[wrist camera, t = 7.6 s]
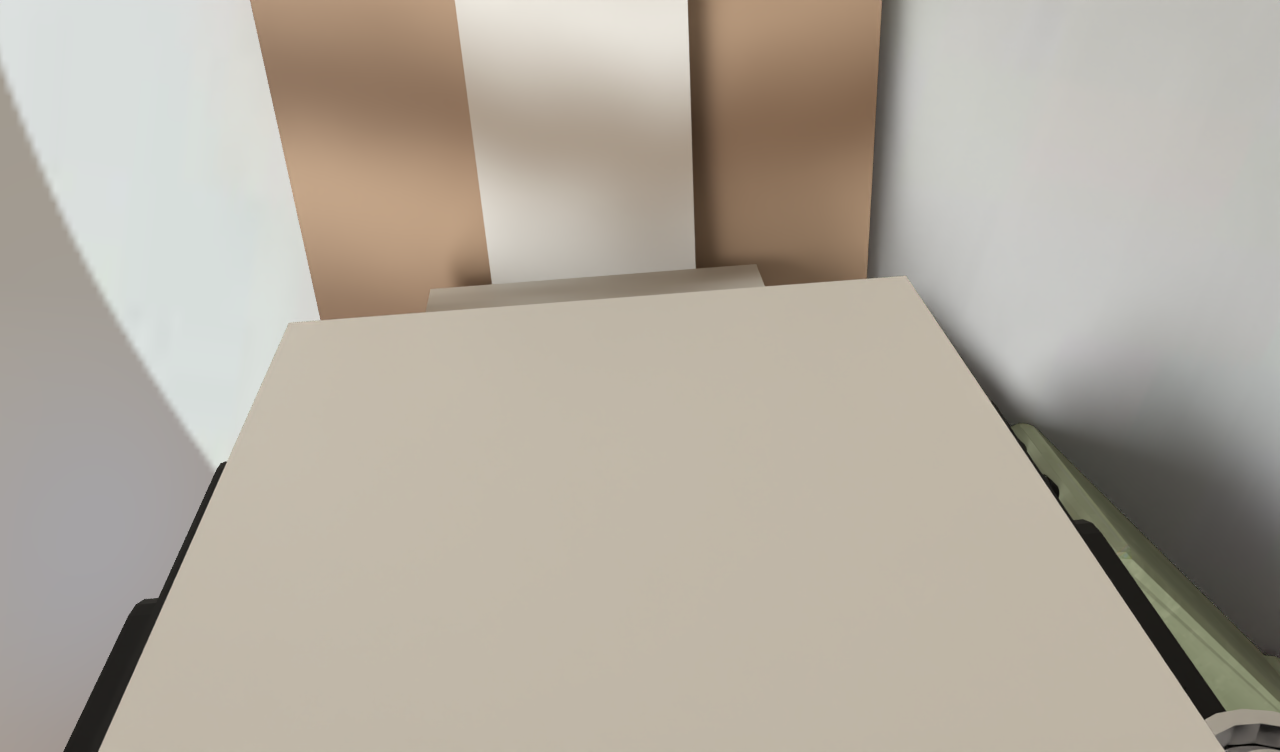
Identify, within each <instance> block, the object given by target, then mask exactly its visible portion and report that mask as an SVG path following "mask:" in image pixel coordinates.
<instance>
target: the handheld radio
mask: <svg viewBox="0 0 1280 752" xmlns="http://www.w3.org/2000/svg"><path fill="white" fill-rule="evenodd" d="M1011 429H1012V430H1013V431H1014V433H1015V434H1016V436H1017V437H1018V439H1019V440H1020V442H1021V443H1022V445H1023V446H1024V448H1025V449H1026V451H1027V452H1028V454H1029V455H1030V457H1031V458H1032V460H1033V461H1034V463H1035V464H1036V466H1037V467H1038V469H1039V470H1040V471H1041V473H1042V474H1043V476H1044V477H1045V479H1046V480H1047V482H1048V483H1049V485H1050V486H1051V488H1052V489H1053V491H1054V492H1055V494H1056V495H1057V497H1058V498H1059V500H1060V501H1061V503H1062V504H1063V506H1064V507H1065V508H1066V510H1067V511H1068V513H1069V514H1070V516H1071V517H1072V519H1073V520H1079V519H1084V520H1087V521H1089V522H1092V523H1093V524H1094V525H1095V526H1096V527H1097V528H1098V529H1099V531H1100V532H1101V533H1102V534H1103V536H1104V537H1105V538H1106V540H1107V541H1108V543H1109V544H1110V546H1111V547H1112V548H1113V550H1114V551H1115V553H1116V554H1117V556H1118V557H1119V558H1120V560H1121V561H1122V563H1123V564H1124V566H1125V567H1126V568H1127V570H1128V571H1129V573H1130V574H1131V576H1132V577H1133V578H1134V580H1135V581H1136V583H1137V584H1138V586H1139V587H1140V588H1141V590H1142V591H1143V593H1144V594H1145V596H1146V597H1147V598H1148V600H1149V601H1150V603H1151V604H1152V606H1153V607H1154V608H1155V610H1156V611H1157V613H1158V614H1159V616H1160V617H1161V618H1162V620H1163V621H1164V623H1165V624H1166V626H1167V627H1168V628H1169V630H1170V631H1171V633H1172V634H1173V636H1174V637H1175V638H1176V640H1177V641H1178V643H1179V644H1180V646H1181V647H1182V648H1183V650H1184V651H1185V653H1186V654H1187V656H1188V657H1189V658H1190V660H1191V661H1192V663H1193V664H1194V666H1195V667H1196V668H1197V670H1198V671H1199V673H1200V674H1201V676H1202V677H1203V678H1204V680H1205V681H1206V683H1207V684H1208V686H1209V687H1210V688H1211V690H1212V691H1213V693H1214V694H1215V696H1216V697H1217V698H1218V700H1219V701H1220V703H1221V704H1222V706H1223V707H1224V708H1225V710H1226V711H1233V710H1238V709H1251V710H1265V711H1274V712H1278V713H1280V658H1278V657H1276V656H1265V655H1264V654H1263V653H1262V652H1261V651H1260V650H1259V649H1258V648H1257V647H1256V646H1255V645H1254V644H1253V643H1252V642H1251V641H1250V640H1249V639H1248V638H1247V637H1246V636H1245V635H1244V634H1243V633H1242V632H1241V631H1240V630H1239V629H1238V628H1237V627H1236V626H1235V625H1234V624H1233V623H1232V622H1231V621H1230V620H1229V619H1228V618H1227V617H1226V616H1225V615H1224V614H1223V613H1222V612H1221V611H1220V610H1219V609H1218V608H1216V607H1215V606H1214V605H1213V604H1212V603H1211V602H1210V601H1209V600H1208V599H1207V598H1206V597H1205V596H1204V595H1203V594H1202V593H1201V592H1200V591H1199V590H1198V589H1197V588H1196V587H1195V586H1194V585H1193V584H1192V583H1191V582H1190V581H1189V580H1188V579H1187V578H1186V577H1185V576H1184V575H1183V574H1182V573H1181V572H1180V571H1179V570H1178V569H1177V568H1176V567H1175V566H1174V565H1173V564H1172V563H1171V562H1170V561H1169V560H1168V559H1167V558H1166V557H1165V556H1164V555H1163V554H1162V553H1161V552H1160V551H1159V550H1158V549H1157V548H1156V547H1155V546H1154V545H1153V544H1152V543H1151V542H1150V541H1149V540H1148V539H1147V538H1146V537H1145V536H1144V535H1143V534H1142V533H1141V532H1140V531H1139V530H1138V529H1137V528H1136V527H1135V526H1134V525H1133V524H1132V523H1131V522H1130V521H1129V520H1128V519H1127V518H1126V517H1125V516H1124V515H1123V514H1122V513H1121V512H1120V511H1119V510H1118V509H1117V508H1116V507H1115V506H1114V505H1113V504H1112V503H1111V502H1110V501H1109V500H1108V499H1107V498H1106V497H1105V496H1104V495H1103V494H1102V493H1101V492H1100V491H1099V490H1098V489H1097V488H1096V487H1095V486H1094V485H1093V484H1092V483H1091V482H1090V481H1089V480H1088V479H1087V478H1086V477H1085V476H1084V475H1083V474H1082V473H1081V472H1080V471H1079V470H1078V469H1077V468H1076V467H1075V466H1074V465H1073V464H1072V463H1071V462H1070V461H1069V460H1068V459H1067V458H1066V457H1065V456H1064V455H1063V454H1062V453H1061V452H1060V451H1059V450H1058V449H1057V448H1056V447H1055V446H1054V445H1053V444H1052V443H1051V442H1050V441H1049V440H1048V439H1047V438H1046V437H1045V436H1044V435H1043V434H1042V433H1041V432H1040V431H1039V430H1037V429H1036V428H1035V427H1034V426H1032V425H1029V424H1025V423H1018V424H1016V425H1014V426H1012V427H1011Z"/></svg>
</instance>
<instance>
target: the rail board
mask: <svg viewBox="0 0 1280 752" xmlns="http://www.w3.org/2000/svg"><path fill="white" fill-rule="evenodd" d="M250 2H251V7H252V11H253V16H254V20H255V25H256V29H257V34H258V38H259V43H260V47H261V52H262V56H263V61H264V66H265V70H266V75H267V79H268V84H269V88H270V93H271V97H272V102H273V106H274V111H275V115H276V120H277V124H278V129H279V133H280V138H281V143H282V147H283V152H284V156H285V161H286V165H287V170H288V174H289V179H290V183H291V188H292V192H293V197H294V201H295V206H296V211H297V215H298V220H299V224H300V229H301V233H302V238H303V242H304V247H305V251H306V256H307V260H308V265H309V269H310V274H311V279H312V283H313V288H314V292H315V297H316V301H317V306H318V310H319V315H320V319H321V320H332V319H345V318H358V317H372V316H385V315H398V314H411V313H424V312H437V311H450V310H463V309H476V308H490V307H503V306H516V305H529V304H542V303H555V302H568V301H581V300H595V299H608V298H621V297H634V296H647V295H660V294H673V293H686V292H699V291H713V290H726V289H739V288H752V287H765V286H778V285H791V284H804V283H818V282H831V281H844V280H857V279H867V263H868V245H869V226H870V208H871V190H872V172H873V154H874V136H875V117H876V99H877V81H878V63H879V45H880V27H881V8H882V0H250Z"/></svg>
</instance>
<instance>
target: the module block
mask: <svg viewBox="0 0 1280 752" xmlns="http://www.w3.org/2000/svg"><path fill="white" fill-rule="evenodd" d="M98 752H1225V750H1224V749H1223V747H1222V746H1221V745H1220V743H1219V742H1218V740H1217V739H1216V737H1215V736H1214V734H1213V733H1212V731H1211V730H1210V728H1209V727H1208V725H1207V724H1206V722H1205V721H1204V719H1203V718H1202V716H1201V715H1200V713H1199V712H1198V710H1197V709H1196V707H1195V706H1194V704H1193V703H1192V701H1191V700H1190V698H1189V697H1188V695H1187V694H1186V692H1185V691H1184V689H1183V688H1182V686H1181V685H1180V683H1179V682H1178V680H1177V679H1176V677H1175V676H1174V674H1173V673H1172V671H1171V670H1170V669H1169V667H1168V666H1167V664H1166V663H1165V661H1164V660H1163V658H1162V657H1161V655H1160V654H1159V652H1158V651H1157V649H1156V648H1155V646H1154V645H1153V643H1152V642H1151V640H1150V639H1149V637H1148V636H1147V634H1146V633H1145V631H1144V630H1143V628H1142V627H1141V625H1140V624H1139V622H1138V621H1137V619H1136V618H1135V616H1134V615H1133V613H1132V612H1131V610H1130V609H1129V607H1128V606H1127V604H1126V603H1125V601H1124V600H1123V598H1122V597H1121V595H1120V594H1119V593H1118V591H1117V590H1116V588H1115V587H1114V585H1113V584H1112V582H1111V581H1110V579H1109V578H1108V576H1107V575H1106V573H1105V572H1104V570H1103V569H1102V567H1101V566H1100V564H1099V563H1098V561H1097V560H1096V558H1095V557H1094V555H1093V554H1092V552H1091V551H1090V549H1089V548H1088V546H1087V545H1086V543H1085V542H1084V540H1083V539H1082V537H1081V536H1080V534H1079V533H1078V531H1077V530H1076V528H1075V527H1074V525H1073V524H1072V522H1071V521H1070V520H1069V518H1068V517H1067V515H1066V514H1065V512H1064V511H1063V509H1062V508H1061V506H1060V505H1059V503H1058V502H1057V500H1056V499H1055V497H1054V496H1053V494H1052V493H1051V491H1050V490H1049V488H1048V487H1047V485H1046V484H1045V482H1044V481H1043V479H1042V478H1041V476H1040V475H1039V473H1038V472H1037V470H1036V469H1035V467H1034V466H1033V464H1032V463H1031V461H1030V460H1029V458H1028V457H1027V455H1026V454H1025V452H1024V451H1023V449H1022V448H1021V446H1020V445H1019V444H1018V442H1017V441H1016V439H1015V438H1014V436H1013V435H1012V433H1011V432H1010V430H1009V429H1008V427H1007V426H1006V424H1005V423H1004V421H1003V420H1002V418H1001V417H1000V415H999V414H998V412H997V411H996V409H995V408H994V406H993V405H992V403H991V402H990V400H989V399H988V397H987V396H986V394H985V393H984V391H983V390H982V388H981V387H980V385H979V384H978V382H977V381H976V379H975V378H974V376H973V375H972V373H971V372H970V370H969V369H968V368H967V366H966V365H965V363H964V362H963V360H962V359H961V357H960V356H959V354H958V353H957V351H956V350H955V348H954V347H953V345H952V344H951V342H950V341H949V339H948V338H947V336H946V335H945V333H944V332H943V330H942V329H941V327H940V326H939V324H938V323H937V321H936V320H935V318H934V317H933V315H932V314H931V312H930V311H929V309H928V308H927V306H926V305H925V303H924V302H923V300H922V299H921V297H920V296H919V294H918V293H917V292H916V290H915V289H914V287H913V286H912V284H911V283H910V281H909V280H908V278H907V277H906V276H896V277H883V278H870V279H857V280H844V281H831V282H818V283H804V284H791V285H778V286H765V287H752V288H739V289H726V290H713V291H699V292H686V293H673V294H660V295H647V296H634V297H621V298H608V299H595V300H581V301H568V302H555V303H542V304H529V305H516V306H503V307H490V308H476V309H463V310H450V311H437V312H424V313H411V314H398V315H385V316H372V317H358V318H345V319H332V320H319V321H306V322H293V323H289V324H288V326H287V328H286V330H285V333H284V335H283V337H282V339H281V342H280V344H279V346H278V348H277V351H276V353H275V355H274V357H273V360H272V362H271V364H270V366H269V369H268V371H267V373H266V375H265V378H264V380H263V382H262V384H261V387H260V389H259V391H258V393H257V396H256V398H255V400H254V402H253V405H252V407H251V409H250V411H249V414H248V416H247V418H246V420H245V423H244V425H243V427H242V429H241V432H240V434H239V436H238V438H237V441H236V443H235V445H234V447H233V450H232V452H231V454H230V456H229V459H228V461H227V463H226V465H225V468H224V470H223V472H222V474H221V477H220V479H219V481H218V483H217V486H216V488H215V490H214V492H213V495H212V497H211V499H210V501H209V504H208V506H207V508H206V510H205V513H204V515H203V517H202V519H201V522H200V524H199V526H198V528H197V531H196V533H195V535H194V537H193V540H192V542H191V544H190V546H189V549H188V551H187V553H186V555H185V558H184V560H183V562H182V564H181V567H180V569H179V571H178V573H177V576H176V578H175V580H174V582H173V585H172V587H171V589H170V591H169V594H168V596H167V598H166V600H165V603H164V605H163V607H162V609H161V612H160V614H159V616H158V618H157V621H156V623H155V625H154V627H153V630H152V632H151V634H150V636H149V639H148V641H147V643H146V645H145V648H144V650H143V652H142V654H141V657H140V659H139V661H138V663H137V666H136V668H135V670H134V672H133V675H132V677H131V679H130V681H129V684H128V686H127V688H126V690H125V693H124V695H123V697H122V699H121V702H120V704H119V706H118V708H117V711H116V713H115V715H114V717H113V720H112V722H111V724H110V726H109V729H108V731H107V733H106V735H105V738H104V740H103V742H102V744H101V747H100V749H99V751H98Z"/></svg>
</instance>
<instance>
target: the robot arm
mask: <svg viewBox="0 0 1280 752" xmlns="http://www.w3.org/2000/svg"><path fill="white" fill-rule="evenodd" d="M990 402H991V403H992V405H993V406H994V408H995V409H996V411H997V412H998V414H999V415H1000V417H1001V418H1002V420H1003V421H1004V423H1005V424H1006V426H1007V427H1008V429H1009V430H1010V432H1011V433H1012V435H1013V436H1014V438H1015V439H1016V441H1017V442H1018V444H1019V445H1020V446H1021V448H1022V449H1023V451H1024V452H1025V454H1026V455H1027V457H1028V458H1029V460H1030V461H1031V463H1032V464H1033V466H1034V467H1035V469H1036V470H1037V472H1038V473H1039V475H1040V476H1041V478H1042V479H1043V481H1044V482H1045V484H1046V485H1047V487H1048V488H1049V490H1050V491H1051V493H1052V494H1053V496H1054V497H1055V499H1056V500H1057V502H1058V503H1059V505H1060V506H1061V508H1062V509H1063V511H1064V512H1065V514H1066V515H1067V517H1068V518H1069V520H1070V521H1071V522H1072V524H1073V525H1074V527H1075V528H1076V530H1077V531H1078V533H1079V534H1080V536H1081V537H1082V539H1083V540H1084V542H1085V543H1086V545H1087V546H1088V548H1089V549H1090V551H1091V552H1092V554H1093V555H1094V557H1095V558H1096V560H1097V561H1098V563H1099V564H1100V566H1101V567H1102V569H1103V570H1104V572H1105V573H1106V575H1107V576H1108V578H1109V579H1110V581H1111V582H1112V584H1113V585H1114V587H1115V588H1116V590H1117V591H1118V593H1119V594H1120V595H1121V597H1122V598H1123V600H1124V601H1125V603H1126V604H1127V606H1128V607H1129V609H1130V610H1131V612H1132V613H1133V615H1134V616H1135V618H1136V619H1137V621H1138V622H1139V624H1140V625H1141V627H1142V628H1143V630H1144V631H1145V633H1146V634H1147V636H1148V637H1149V639H1150V640H1151V642H1152V643H1153V645H1154V646H1155V648H1156V649H1157V651H1158V652H1159V654H1160V655H1161V657H1162V658H1163V660H1164V661H1165V663H1166V664H1167V666H1168V667H1169V669H1170V670H1171V671H1172V673H1173V674H1174V676H1175V677H1176V679H1177V680H1178V682H1179V683H1180V685H1181V686H1182V688H1183V689H1184V691H1185V692H1186V694H1187V695H1188V697H1189V698H1190V700H1191V701H1192V703H1193V704H1194V706H1195V707H1196V709H1197V710H1198V712H1199V713H1200V715H1201V716H1202V718H1203V719H1204V721H1205V722H1206V724H1207V725H1208V727H1209V728H1210V730H1211V731H1212V733H1213V734H1214V736H1215V737H1216V739H1217V740H1218V742H1219V743H1220V745H1221V746H1222V747H1223V749H1224V750H1225V752H1280V713H1278V712H1274V711H1265V710H1251V709H1238V710H1233V711H1226V710H1225V708H1224V707H1223V706H1222V704H1221V703H1220V701H1219V700H1218V698H1217V697H1216V696H1215V694H1214V693H1213V691H1212V690H1211V688H1210V687H1209V686H1208V684H1207V683H1206V681H1205V680H1204V678H1203V677H1202V676H1201V674H1200V673H1199V671H1198V670H1197V668H1196V667H1195V666H1194V664H1193V663H1192V661H1191V660H1190V658H1189V657H1188V656H1187V654H1186V653H1185V651H1184V650H1183V648H1182V647H1181V646H1180V644H1179V643H1178V641H1177V640H1176V638H1175V637H1174V636H1173V634H1172V633H1171V631H1170V630H1169V628H1168V627H1167V626H1166V624H1165V623H1164V621H1163V620H1162V618H1161V617H1160V616H1159V614H1158V613H1157V611H1156V610H1155V608H1154V607H1153V606H1152V604H1151V603H1150V601H1149V600H1148V598H1147V597H1146V596H1145V594H1144V593H1143V591H1142V590H1141V588H1140V587H1139V586H1138V584H1137V583H1136V581H1135V580H1134V578H1133V577H1132V576H1131V574H1130V573H1129V571H1128V570H1127V568H1126V567H1125V566H1124V564H1123V563H1122V561H1121V560H1120V558H1119V557H1118V556H1117V554H1116V553H1115V551H1114V550H1113V548H1112V547H1111V546H1110V544H1109V543H1108V541H1107V540H1106V538H1105V537H1104V536H1103V534H1102V533H1101V532H1100V531H1099V529H1098V528H1097V527H1096V526H1095V525H1094V524H1093V523H1092V522H1089V521H1087V520H1084V519H1079V520H1073V519H1072V517H1071V516H1070V514H1069V513H1068V511H1067V510H1066V508H1065V507H1064V506H1063V504H1062V503H1061V501H1060V500H1059V498H1058V497H1057V495H1056V494H1055V492H1054V491H1053V489H1052V488H1051V486H1050V485H1049V483H1048V482H1047V480H1046V479H1045V477H1044V476H1043V474H1042V473H1041V471H1040V470H1039V469H1038V467H1037V466H1036V464H1035V463H1034V461H1033V460H1032V458H1031V457H1030V455H1029V454H1028V452H1027V451H1026V449H1025V448H1024V446H1023V445H1022V443H1021V442H1020V440H1019V439H1018V437H1017V436H1016V434H1015V433H1014V431H1013V430H1012V429H1011V427H1010V426H1009V424H1008V423H1007V421H1006V420H1005V418H1004V417H1003V415H1002V414H1001V412H1000V411H999V409H998V408H997V406H996V405H995V404H994V403H993V402H992V401H990ZM226 463H227V462H223V463H221V464H220V465H219V467H218V468H217V470H216V472H215V474H214V476H213V479H212V481H211V483H210V485H209V487H208V490H207V492H206V494H205V497H204V499H203V501H202V503H201V505H200V507H199V510H198V512H197V514H196V516H195V518H194V521H193V523H192V525H191V527H190V530H189V532H188V534H187V536H186V538H185V540H184V543H183V545H182V547H181V549H180V551H179V554H178V556H177V558H176V560H175V562H174V565H173V567H172V569H171V571H170V574H169V576H168V578H167V580H166V582H165V585H164V587H163V589H162V591H161V593H160V596H159V598H154V599H144V600H142V601H141V602H139V603H138V604H136V605H135V607H134V608H133V610H132V611H131V613H130V614H129V616H128V618H127V620H126V622H125V624H124V626H123V628H122V630H121V632H120V634H119V636H118V639H117V641H116V643H115V645H114V647H113V649H112V651H111V653H110V655H109V657H108V659H107V662H106V664H105V666H104V668H103V670H102V672H101V675H100V676H99V678H98V681H97V682H96V685H95V687H94V689H93V691H92V693H91V695H90V697H89V699H88V701H87V704H86V706H85V708H84V710H83V712H82V714H81V716H80V718H79V720H78V722H77V724H76V727H75V729H74V731H73V733H72V735H71V737H70V739H69V741H68V743H67V745H66V747H65V749H64V752H98V751H99V749H100V747H101V744H102V742H103V740H104V738H105V735H106V733H107V731H108V729H109V726H110V724H111V722H112V720H113V717H114V715H115V713H116V711H117V708H118V706H119V704H120V702H121V699H122V697H123V695H124V693H125V690H126V688H127V686H128V684H129V681H130V679H131V677H132V675H133V672H134V670H135V668H136V666H137V663H138V661H139V659H140V657H141V654H142V652H143V650H144V648H145V645H146V643H147V641H148V639H149V636H150V634H151V632H152V630H153V627H154V625H155V623H156V621H157V618H158V616H159V614H160V612H161V609H162V607H163V605H164V603H165V600H166V598H167V596H168V594H169V591H170V589H171V587H172V585H173V582H174V580H175V578H176V576H177V573H178V571H179V569H180V567H181V564H182V562H183V560H184V558H185V555H186V553H187V551H188V549H189V546H190V544H191V542H192V540H193V537H194V535H195V533H196V531H197V528H198V526H199V524H200V522H201V519H202V517H203V515H204V513H205V510H206V508H207V506H208V504H209V501H210V499H211V497H212V495H213V492H214V490H215V488H216V486H217V483H218V481H219V479H220V477H221V474H222V472H223V470H224V468H225V465H226Z"/></svg>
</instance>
